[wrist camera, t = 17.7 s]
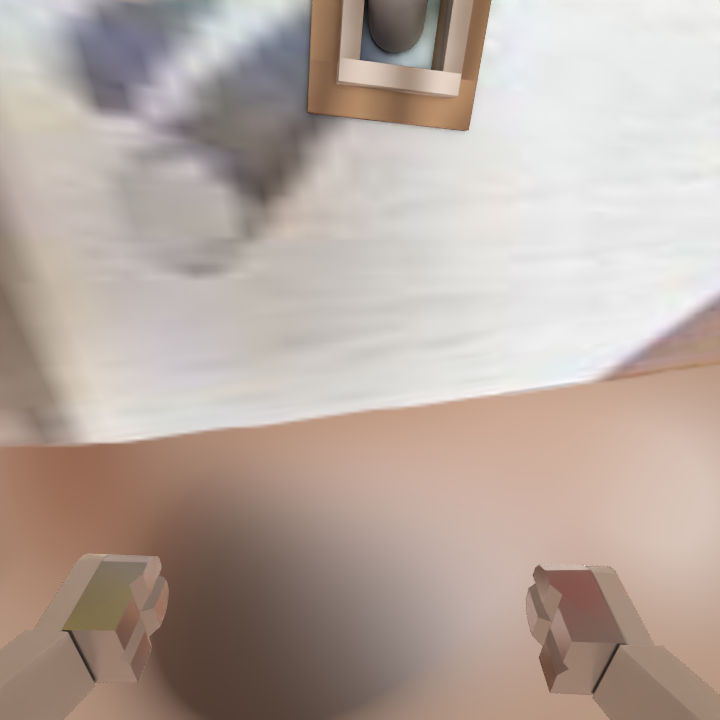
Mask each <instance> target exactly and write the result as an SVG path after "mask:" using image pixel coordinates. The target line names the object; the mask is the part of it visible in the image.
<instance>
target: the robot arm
mask: <svg viewBox="0 0 720 720" xmlns="http://www.w3.org/2000/svg"><path fill="white" fill-rule="evenodd" d="M161 568H162V565H161V562H160V560H159V557H155V556H154V557H153V556H131V555H110V554H85V555H84V556H82V557H81V558H80V559H79V560H78V561H77V562H76V563H75V565H74V567H73V568H72V570H71V571H70V573H69V574H68V576H67V578H66V579H65V581H64V582H63V584H62V585H61V587H60V589H59V590H58V592H57V593H56V595H55V596H54V598H53V600H52V601H51V603H50V604H49V606H48V607H47V609H46V610H45V612H44V614H43V615H42V617H41V618H40V620H39V622H38V623H37V625H36V626H35V628H34V629H33V630H26V631H24V632H23V633H21V634H20V635H19V636H17V637H16V638H15V639H13V640H12V641H11V642H9V643H8V644H7V645H5V646H4V647H3V648H1V649H0V720H64V719H65V718H66V717H67V716H68V714H70V712H71V711H72V710H73V709H74V708H75V707H76V706H77V705H78V704H79V703H80V702H81V701H82V700H83V699H84V698H85V697H86V695H87V694H88V693H89V692H90V691H91V690H92V689H93V688H94V687H95V683H138V681H139V678H140V676H141V674H142V671H143V669H144V666H145V663H146V661H147V659H148V656H149V654H150V651H151V649H152V647H151V644H150V640H149V636H150V635H151V634H152V633H153V632H154V631H156V630H157V629H158V628H159V627H160V626H161V623H162V620H163V618H164V615H165V612H166V607H167V602H168V585H167V581H166V579H164V578H163V577H162V576H161V575H159V572H160V570H161ZM533 577H534V580H535V584H534V585H533V586H531V587H530V588H529V589H528V593H527V596H526V614H527V619H528V624H529V627H530V631H531V634H532V636H533V637H534V638H535V639H536V640H537V641H538V642H539V643H540V644H541V645H542V646H543V647H542V650H541V653H540V656H539V660H540V663H541V666H542V670H543V673H544V676H545V679H546V682H547V685H548V689H549V692H550V693H560V694H579V695H593V699H594V700H595V702H596V703H597V704H598V705H599V707H600V708H601V709H602V710H603V711H604V713H605V714H606V715H607V716H608V718H609V719H610V720H720V694H718V693H717V692H716V691H715V690H714V689H712V688H711V687H710V686H709V685H708V684H707V683H705V682H704V681H703V680H702V679H701V678H700V677H699V676H697V675H696V674H695V673H694V672H693V671H692V670H690V669H689V668H688V667H687V666H686V665H685V664H683V663H682V662H681V661H680V660H679V659H678V658H676V657H675V656H674V655H673V654H672V653H671V652H669V651H668V650H667V649H666V648H665V647H663V646H656V645H655V644H654V642H653V640H652V638H651V637H650V635H649V633H648V631H647V629H646V627H645V625H644V623H643V621H642V620H641V618H640V616H639V614H638V612H637V610H636V608H635V607H634V605H633V603H632V601H631V599H630V597H629V596H628V594H627V592H626V590H625V588H624V586H623V584H622V582H621V581H620V579H619V577H618V575H617V573H616V571H615V570H614V569H613V568H611V567H609V566H584V565H538V566H537V567H536V568H535V570H534V573H533Z"/></svg>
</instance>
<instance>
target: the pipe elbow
mask: <svg viewBox="0 0 720 720" xmlns="http://www.w3.org/2000/svg"><path fill="white" fill-rule="evenodd" d="M427 3H428V0H368V10H369V28H370V33H371V36H372V38H373V40H374V41H375V43H376V44H377V45H378V46H379V47H380V48H382V49H384V50H385V51H388V52H393V53H398V52H403V51H406V50H408V49H410V48H411V47H412V46H414V45H415V44H416V42H417V41H418V40H419V38H420V36H421V34H422V32H423V28H424V22H425V15H426V9H427Z"/></svg>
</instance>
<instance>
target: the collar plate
mask: <svg viewBox="0 0 720 720" xmlns="http://www.w3.org/2000/svg"><path fill="white" fill-rule="evenodd" d="M490 5H491V0H441V2H440V10H439V17H438V24H437V32H436V39H435V46H434V53H433V61H432V68H431V70H429V69H421V68H414V67H406V66H399V65H392V64H384V63H377V62H369V61H362V60H360V49H361V36H362V24H363V12H364V0H312V16H311V40H310V64H309V88H308V111H307V113H314V114H322V115H331V116H340V117H348V118H357V119H366V120H374V121H383V122H392V123H400V124H409V125H418V126H426V127H435V128H444V129H452V130H461V131H467V130H469V125H470V120H471V114H472V108H473V102H474V97H475V91H476V85H477V80H478V74H479V68H480V62H481V57H482V51H483V45H484V39H485V34H486V28H487V22H488V17H489V11H490Z"/></svg>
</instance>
